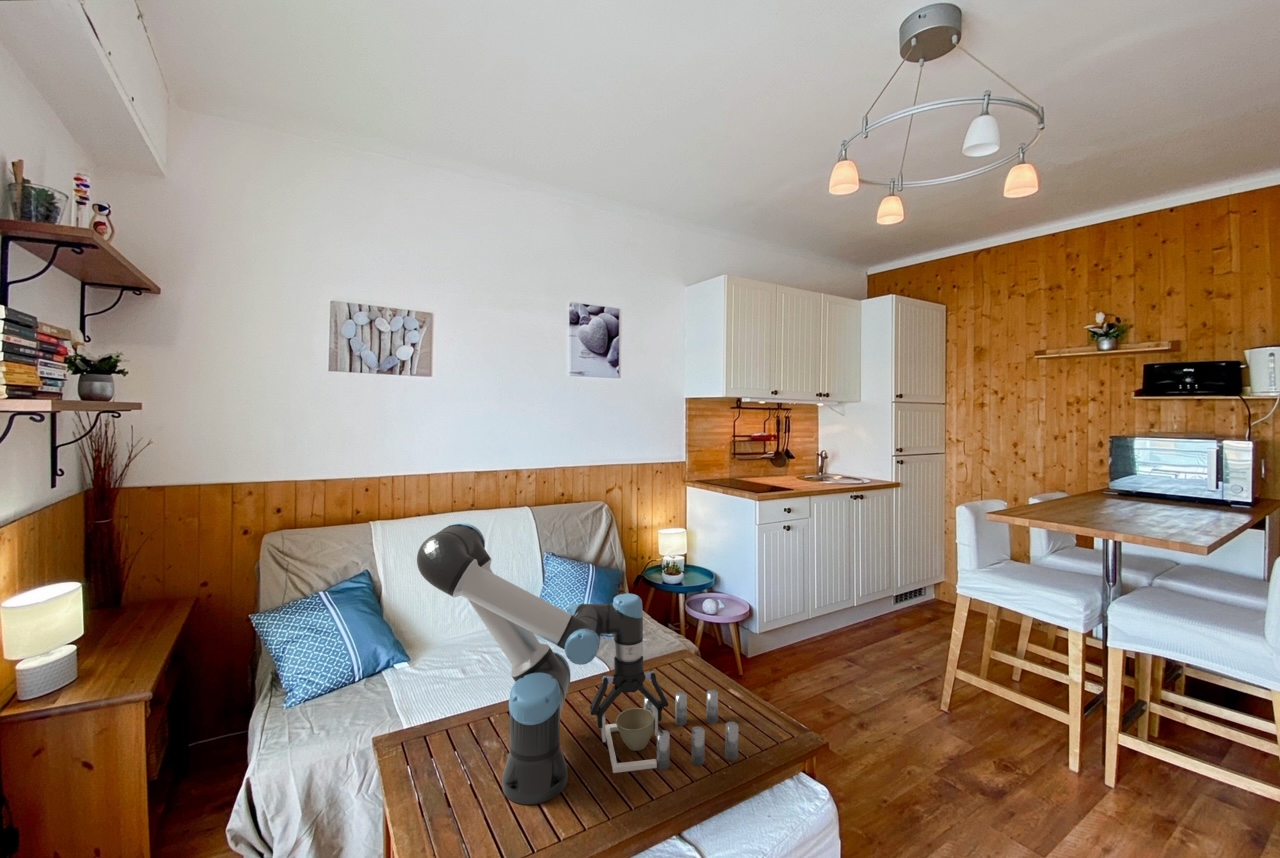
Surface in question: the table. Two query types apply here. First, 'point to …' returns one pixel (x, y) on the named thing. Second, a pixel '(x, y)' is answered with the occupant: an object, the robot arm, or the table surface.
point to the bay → (626, 765)
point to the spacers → (694, 731)
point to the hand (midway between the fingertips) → (629, 736)
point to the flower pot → (635, 727)
